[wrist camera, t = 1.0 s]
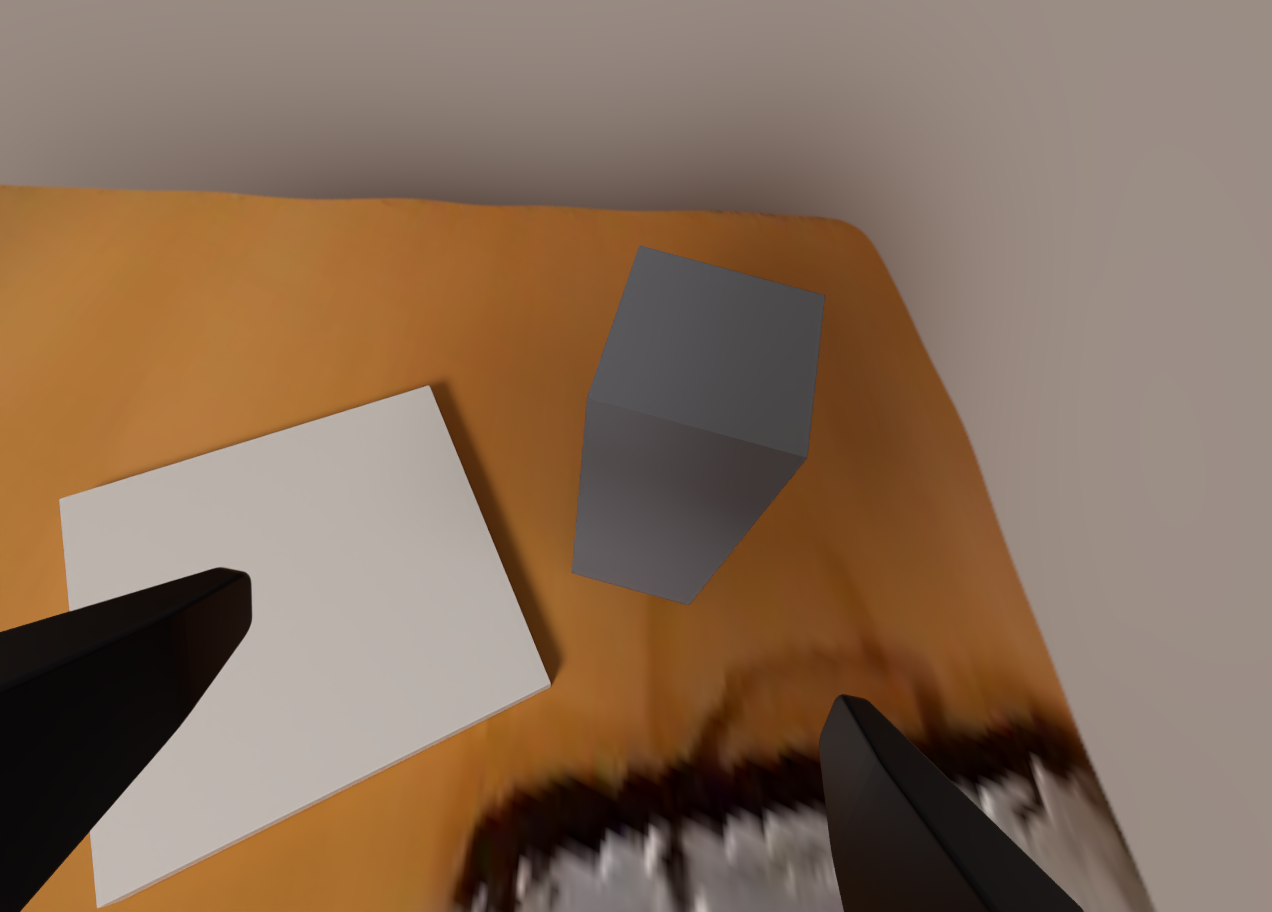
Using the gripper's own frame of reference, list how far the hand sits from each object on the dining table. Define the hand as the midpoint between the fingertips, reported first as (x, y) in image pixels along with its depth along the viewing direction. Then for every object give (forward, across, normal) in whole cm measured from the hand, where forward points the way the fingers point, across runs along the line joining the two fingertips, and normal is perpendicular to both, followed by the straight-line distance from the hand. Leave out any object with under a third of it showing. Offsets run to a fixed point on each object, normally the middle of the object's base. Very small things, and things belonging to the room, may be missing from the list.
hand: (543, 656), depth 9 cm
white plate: (+12, +10, +9) cm, 18 cm away
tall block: (+16, -2, +6) cm, 17 cm away
